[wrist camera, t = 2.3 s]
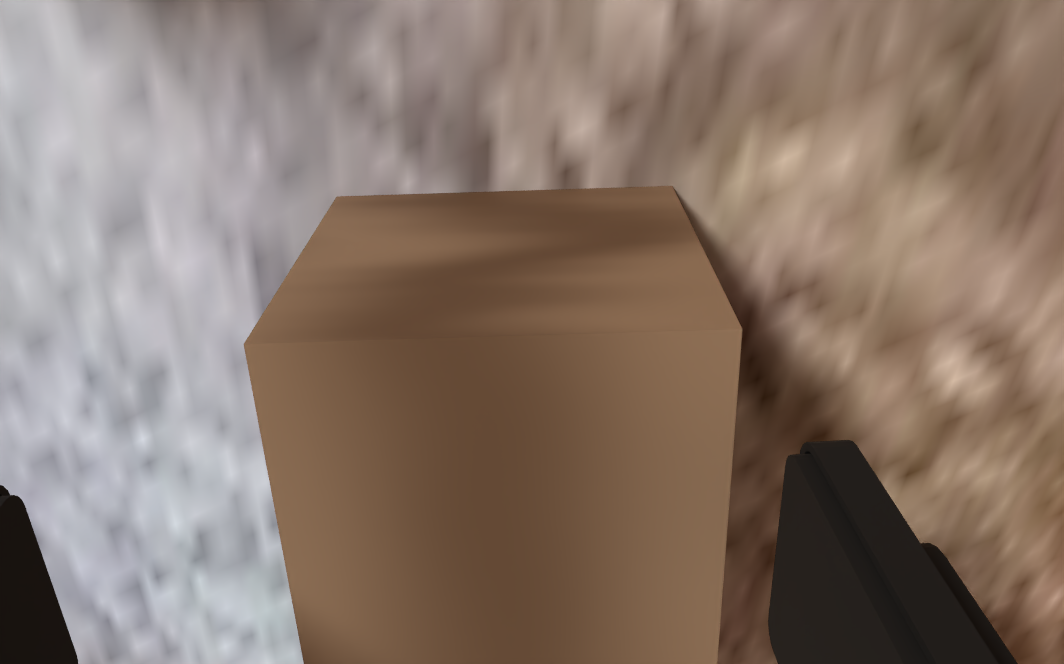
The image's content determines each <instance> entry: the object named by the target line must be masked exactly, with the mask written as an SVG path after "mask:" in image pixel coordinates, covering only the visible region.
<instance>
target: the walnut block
mask: <svg viewBox="0 0 1064 664" xmlns="http://www.w3.org/2000/svg"><path fill="white" fill-rule="evenodd" d="M741 341H742V327H741V325H740V323H739V321H738V319H737V317H736V315H735V313H734V311H733V309H732V307H731V305H730V303H729V301H728V299H727V297H726V295H725V293H724V291H723V289H722V286H721V284H720V282H719V280H718V278H717V276H716V274H715V272H714V270H713V268H712V266H711V264H710V262H709V260H708V258H707V256H706V254H705V252H704V250H703V248H702V246H701V244H700V242H699V239H698V237H697V235H696V233H695V231H694V229H693V227H692V225H691V223H690V221H689V219H688V217H687V215H686V213H685V211H684V209H683V207H682V205H681V203H680V201H679V199H678V197H677V195H676V193H675V190H674V188H673V186H657V187H625V188H594V189H562V190H531V191H499V192H468V193H436V194H404V195H373V196H341V197H336V199H335V200H334V202H333V203H332V205H331V207H330V208H329V210H328V211H327V213H326V214H325V216H324V218H323V219H322V221H321V222H320V224H319V226H318V227H317V229H316V230H315V232H314V234H313V235H312V237H311V238H310V240H309V241H308V243H307V245H306V246H305V248H304V249H303V251H302V253H301V254H300V256H299V257H298V259H297V260H296V262H295V264H294V265H293V267H292V268H291V270H290V272H289V273H288V275H287V276H286V278H285V279H284V281H283V283H282V284H281V286H280V287H279V289H278V291H277V292H276V294H275V295H274V297H273V299H272V300H271V302H270V303H269V305H268V306H267V308H266V310H265V311H264V313H263V314H262V316H261V318H260V319H259V321H258V322H257V324H256V325H255V327H254V329H253V330H252V332H251V333H250V335H249V337H248V338H247V340H246V341H245V343H244V348H245V354H246V359H247V364H248V369H249V375H250V380H251V385H252V391H253V396H254V401H255V407H256V412H257V417H258V422H259V428H260V433H261V438H262V444H263V449H264V454H265V460H266V465H267V470H268V475H269V481H270V486H271V491H272V497H273V502H274V507H275V513H276V518H277V523H278V528H279V534H280V539H281V544H282V550H283V555H284V560H285V566H286V571H287V576H288V582H289V587H290V592H291V597H292V603H293V608H294V613H295V619H296V624H297V629H298V635H299V640H300V645H301V650H302V656H303V661H304V664H717V659H718V646H719V632H720V619H721V606H722V593H723V579H724V566H725V553H726V540H727V526H728V513H729V500H730V487H731V473H732V460H733V447H734V434H735V420H736V407H737V394H738V381H739V367H740V354H741Z"/></svg>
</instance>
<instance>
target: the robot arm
mask: <svg viewBox="0 0 1064 664" xmlns="http://www.w3.org/2000/svg"><path fill="white" fill-rule="evenodd" d="M768 625H769V635H770V641H771V645H772V648H773V651H774V654H775V657H776V659H777V662H778V664H1017V662H1016V661H1015V659H1014V658H1013V656H1012V655H1011V653H1010V652H1009V650H1008V649H1007V647H1006V646H1005V644H1004V643H1003V641H1002V640H1001V638H1000V637H999V635H998V634H997V632H996V631H995V629H994V628H993V626H992V625H991V624H990V622H989V621H988V619H987V618H986V616H985V615H984V613H983V612H982V610H981V609H980V607H979V606H978V604H977V603H976V601H975V600H974V598H973V597H972V595H971V594H970V592H969V591H968V589H967V588H966V586H965V585H964V583H963V582H962V580H961V579H960V578H959V576H958V575H957V573H956V572H955V570H954V569H953V567H952V566H951V564H950V563H949V561H948V560H947V558H946V557H945V555H944V554H943V553H942V552H941V551H940V550H939V549H938V547H936V546H934V545H932V544H930V543H921V544H920V542H919V541H918V539H917V538H916V536H915V534H914V533H913V531H912V530H911V528H910V527H909V525H908V524H907V522H906V521H905V519H904V518H903V516H902V514H901V513H900V511H899V510H898V508H897V507H896V505H895V504H894V502H893V501H892V499H891V497H890V496H889V494H888V493H887V491H886V490H885V488H884V487H883V485H882V484H881V482H880V481H879V479H878V477H877V476H876V474H875V473H874V471H873V470H872V468H871V467H870V465H869V464H868V462H867V461H866V459H865V457H864V456H863V454H862V453H861V451H860V450H859V448H858V447H857V445H856V444H855V443H854V442H853V441H850V440H839V441H820V442H806V443H804V444H803V446H802V448H801V450H800V454H796V455H789V456H788V458H787V460H786V465H785V474H784V483H783V492H782V501H781V510H780V519H779V528H778V537H777V545H776V554H775V563H774V572H773V581H772V590H771V599H770V608H769V619H768ZM0 664H78V659H77V655H76V652H75V649H74V646H73V643H72V640H71V637H70V634H69V632H68V629H67V626H66V623H65V620H64V617H63V614H62V611H61V608H60V606H59V603H58V600H57V597H56V594H55V591H54V588H53V585H52V583H51V580H50V577H49V574H48V571H47V568H46V565H45V562H44V559H43V557H42V554H41V551H40V548H39V545H38V542H37V539H36V536H35V534H34V531H33V528H32V525H31V522H30V519H29V516H28V513H27V511H26V508H25V505H24V503H23V501H22V500H21V499H20V498H19V497H18V496H15V495H10V494H9V492H8V490H7V489H6V488H5V487H4V486H2V485H0Z"/></svg>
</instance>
